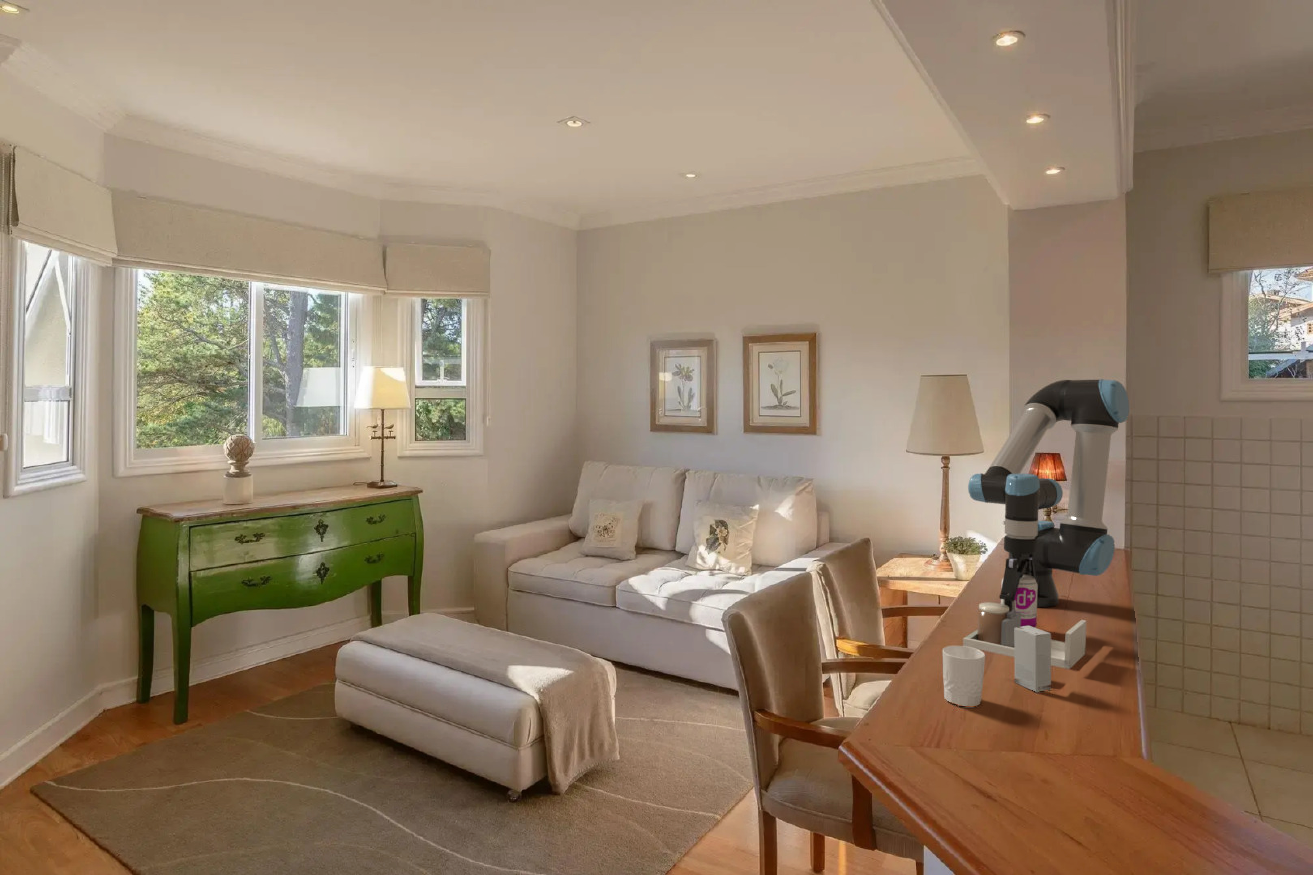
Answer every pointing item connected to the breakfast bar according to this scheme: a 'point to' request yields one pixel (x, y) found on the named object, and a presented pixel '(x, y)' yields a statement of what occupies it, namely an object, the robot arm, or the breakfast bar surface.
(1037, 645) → the skincare box
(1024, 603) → the supplement can
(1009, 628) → the pusher
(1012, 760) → the breakfast bar surface
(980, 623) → the jar
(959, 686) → the white cup
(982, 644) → the lane
